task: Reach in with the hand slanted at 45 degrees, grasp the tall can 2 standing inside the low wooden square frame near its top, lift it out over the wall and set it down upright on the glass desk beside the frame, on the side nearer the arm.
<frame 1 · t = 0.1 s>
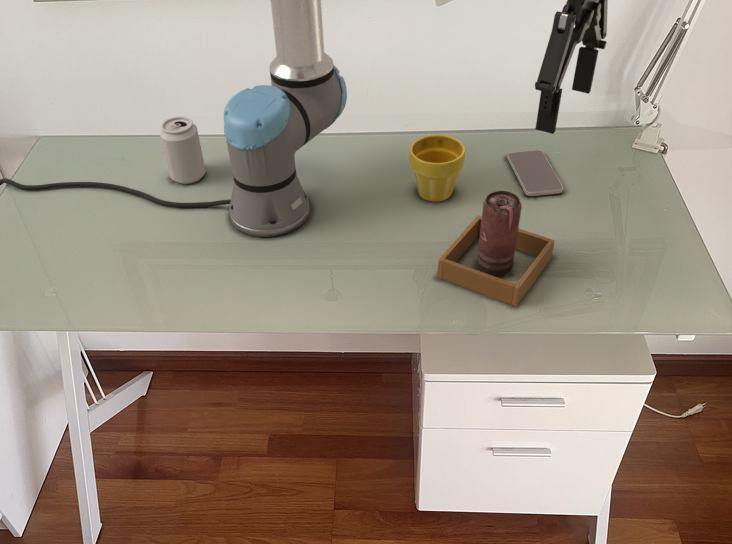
hand: (563, 110, 113), 28 cm above the table, tool pointing down, fingers open, 13 cm apart
can 2: (494, 268, 132), resting in wooden square frame
flower pot: (435, 193, 148), on the table
wooden square frame: (494, 267, 131), on the table
can: (188, 176, 157), on the table
smartphone: (533, 175, 151), on the table
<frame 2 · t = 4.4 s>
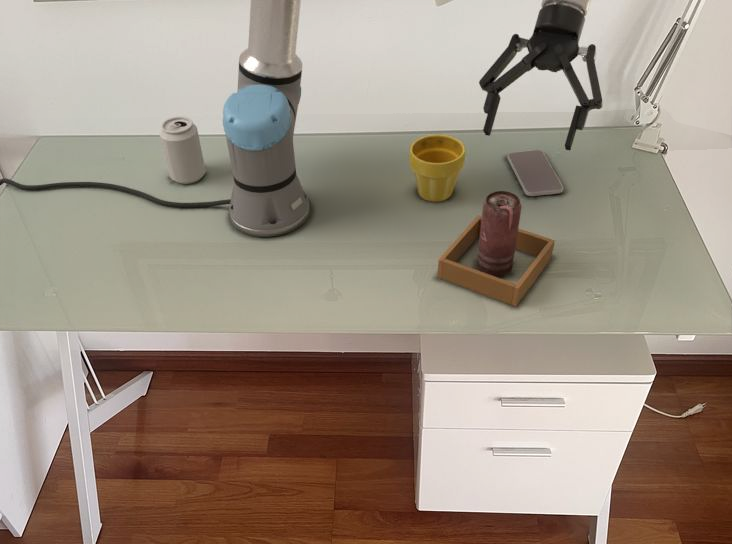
hand: (526, 140, 125), 19 cm above the table, tool tilted 45°, fingers open, 13 cm apart
nothing on the table moved.
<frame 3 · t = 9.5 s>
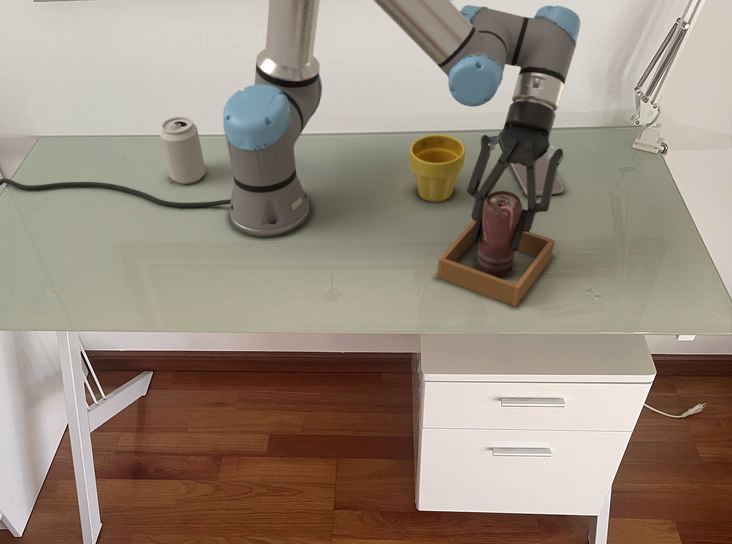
hand: (494, 244, 125), 7 cm above the table, tool tilted 45°, fingers closed on can 2, 6 cm apart
can 2: (494, 268, 132), resting in wooden square frame, touching gripper
everything else where it was.
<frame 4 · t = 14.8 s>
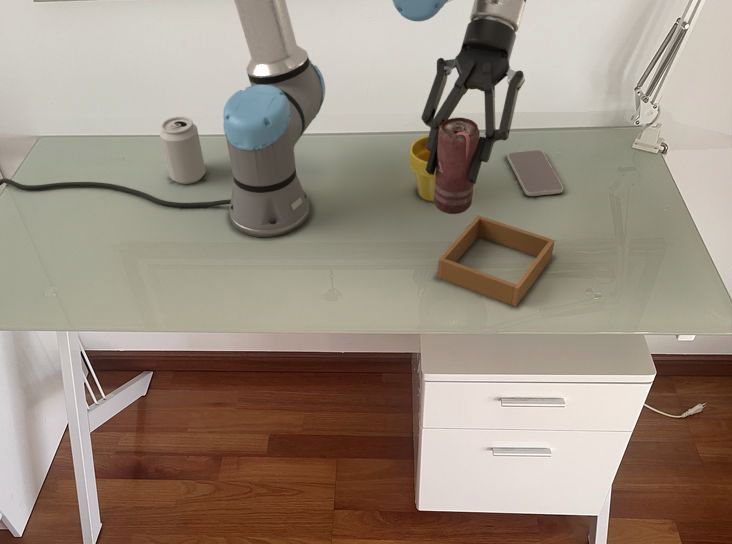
hand: (450, 176, 116), 20 cm above the table, tool tilted 45°, fingers closed on can 2, 6 cm apart
can 2: (452, 205, 123), point 13 cm above the table, touching gripper
everything else where it was.
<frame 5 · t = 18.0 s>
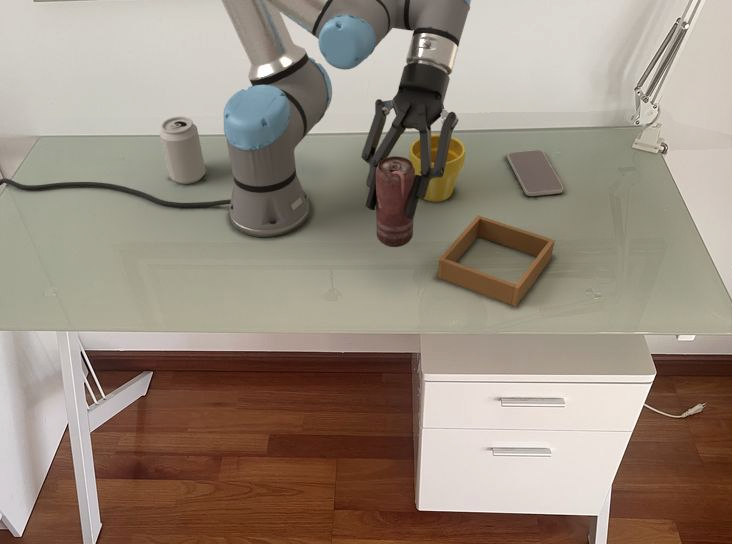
hand: (389, 212, 121), 14 cm above the table, tool tilted 45°, fingers closed on can 2, 6 cm apart
can 2: (395, 238, 128), point 7 cm above the table, touching gripper
everything else where it was.
when the fingers open (7 cm above the table, at t = 20.3 s): can 2 stays where it is, on the table.
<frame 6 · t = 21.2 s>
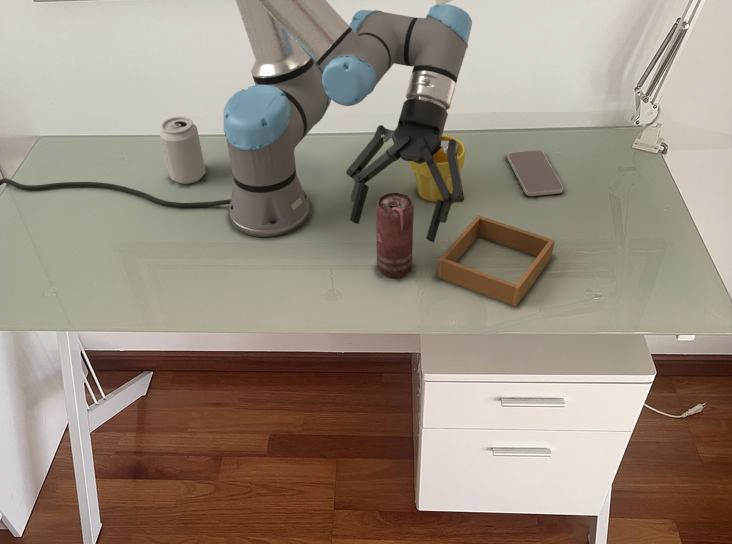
hand: (391, 231, 126), 9 cm above the table, tool tilted 45°, fingers open, 13 cm apart
can 2: (394, 269, 133), on the table
everything else where it was.
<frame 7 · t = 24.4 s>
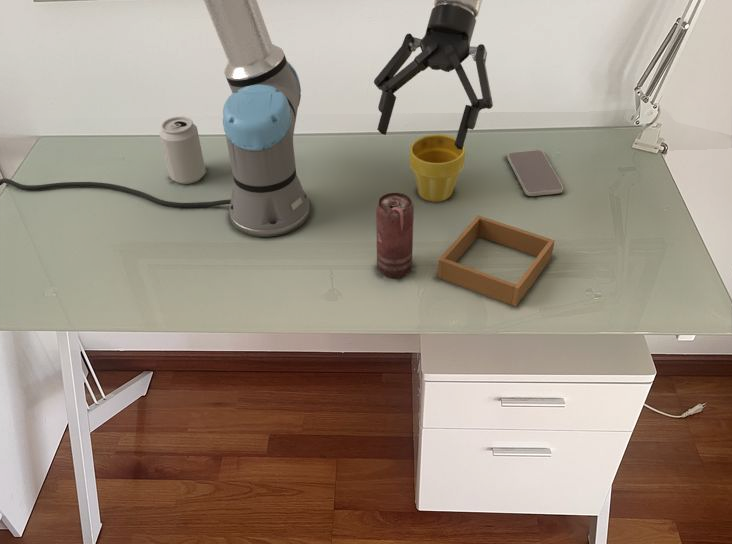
hand: (419, 139, 126), 19 cm above the table, tool tilted 45°, fingers open, 13 cm apart
nothing on the table moved.
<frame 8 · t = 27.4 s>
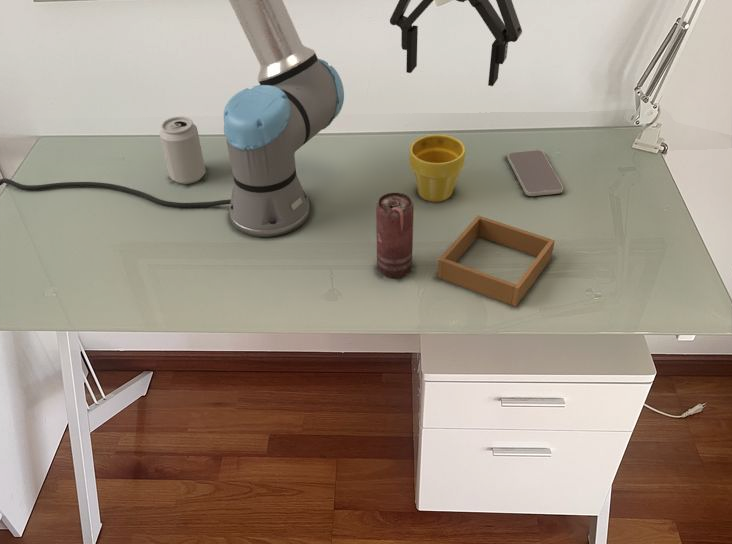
hand: (451, 75, 121), 29 cm above the table, tool pointing down, fingers open, 13 cm apart
nothing on the table moved.
at the end: can 2 inside the target area (1.0 cm from its centre), on the table; can 2 tilted 0°; the gripper is holding nothing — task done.
